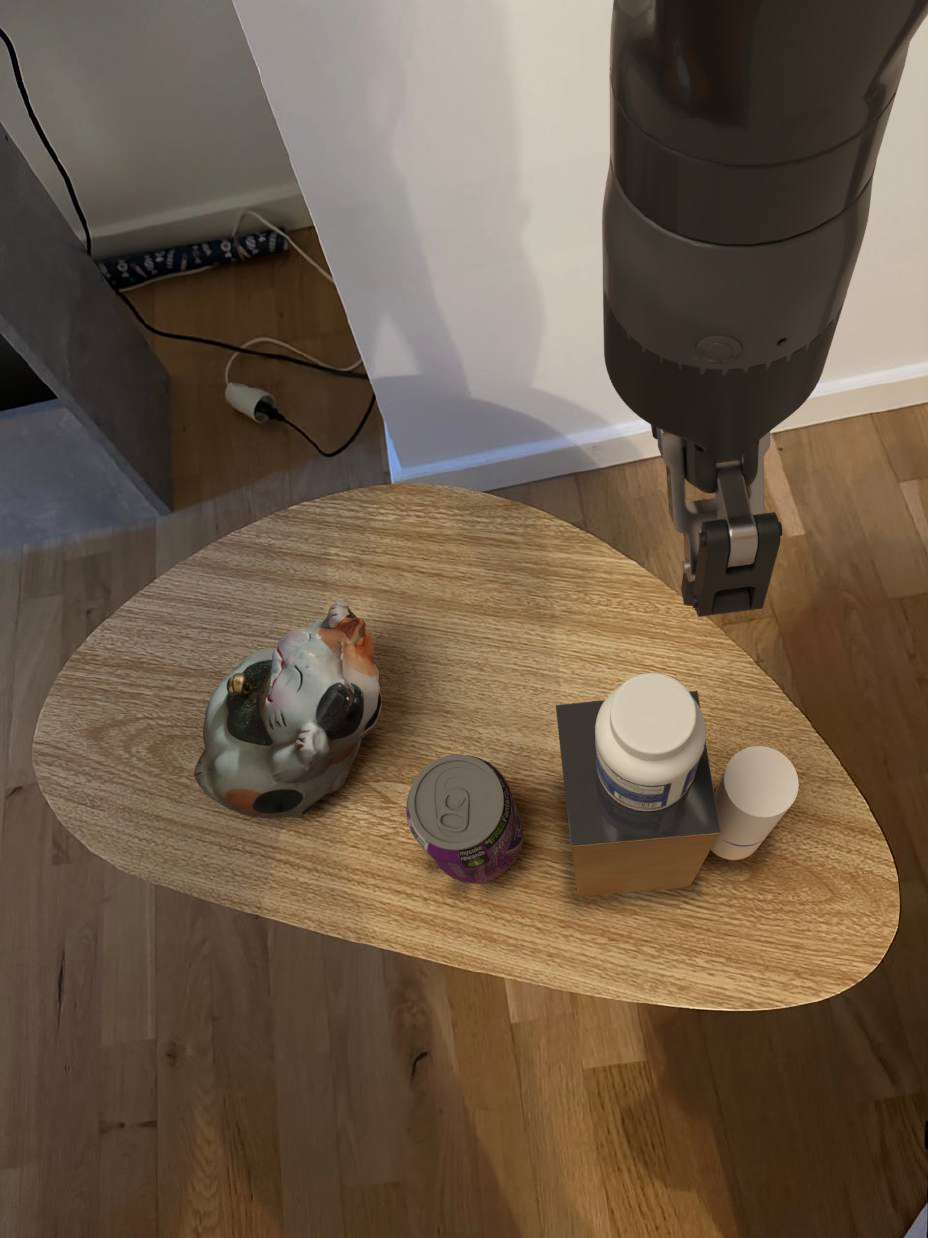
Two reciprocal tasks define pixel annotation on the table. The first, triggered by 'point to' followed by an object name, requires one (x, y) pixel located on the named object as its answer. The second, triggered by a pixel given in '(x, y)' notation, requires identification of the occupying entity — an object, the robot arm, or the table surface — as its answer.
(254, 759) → the lucky cat figurine
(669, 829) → the slate coaster
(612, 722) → the pill bottle
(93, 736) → the table surface
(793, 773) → the tube
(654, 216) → the robot arm
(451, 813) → the beverage can
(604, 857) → the walnut plinth
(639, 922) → the table surface
